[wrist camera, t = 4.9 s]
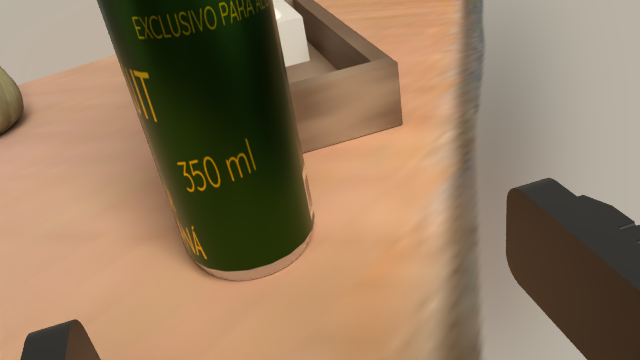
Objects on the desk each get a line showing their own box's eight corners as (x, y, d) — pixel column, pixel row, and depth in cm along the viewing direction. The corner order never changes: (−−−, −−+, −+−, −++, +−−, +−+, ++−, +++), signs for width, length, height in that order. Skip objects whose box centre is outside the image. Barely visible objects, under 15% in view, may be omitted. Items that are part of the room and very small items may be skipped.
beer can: (291, 190, 27) (231, -88, 20) (338, 253, 22) (280, -75, 16) (179, 230, 25) (77, -54, 19) (206, 306, 21) (85, -30, 14)
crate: (181, 188, 28) (160, 126, 26) (159, 73, 43) (145, 28, 41) (402, 124, 30) (397, 62, 28) (308, 35, 45) (301, -9, 43)
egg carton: (193, 90, 37) (177, 35, 35) (184, 62, 42) (169, 13, 40) (309, 60, 38) (300, 5, 36) (287, 37, 43) (278, -13, 41)
